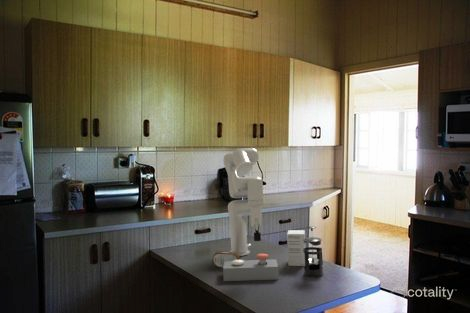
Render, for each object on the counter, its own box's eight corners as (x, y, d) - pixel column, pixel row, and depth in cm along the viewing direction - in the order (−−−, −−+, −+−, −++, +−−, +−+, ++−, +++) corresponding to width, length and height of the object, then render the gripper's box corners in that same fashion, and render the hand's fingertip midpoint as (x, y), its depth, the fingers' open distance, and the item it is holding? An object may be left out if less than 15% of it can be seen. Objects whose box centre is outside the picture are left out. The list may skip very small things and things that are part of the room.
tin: (241, 267, 204) (240, 251, 203) (239, 269, 201) (238, 253, 200) (214, 265, 208) (213, 250, 208) (212, 267, 205) (211, 251, 205)
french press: (314, 278, 181) (312, 229, 180) (298, 274, 188) (297, 227, 188) (329, 272, 189) (327, 225, 188) (313, 268, 196) (312, 223, 195)
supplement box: (289, 260, 212) (287, 229, 211) (306, 260, 210) (305, 229, 210) (288, 265, 202) (286, 233, 202) (305, 266, 201) (304, 233, 200)
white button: (232, 273, 187) (232, 263, 186) (232, 270, 192) (232, 259, 192) (244, 273, 186) (243, 262, 186) (244, 269, 192) (243, 259, 192)
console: (223, 281, 184) (223, 268, 183) (225, 272, 196) (224, 261, 195) (278, 279, 183) (278, 266, 182) (276, 271, 195) (276, 259, 194)
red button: (257, 267, 186) (256, 257, 186) (256, 264, 192) (256, 253, 192) (268, 267, 186) (268, 256, 186) (268, 263, 191) (267, 253, 191)
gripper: (248, 201, 196) (250, 237, 196) (247, 205, 181) (249, 244, 181) (263, 200, 195) (265, 236, 196) (263, 205, 180) (265, 244, 181)
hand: (257, 240), depth 188 cm, fingers closed
